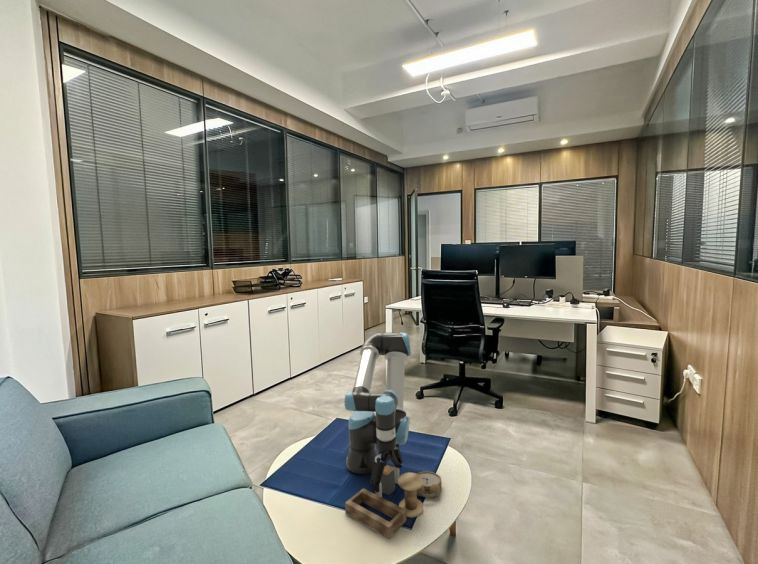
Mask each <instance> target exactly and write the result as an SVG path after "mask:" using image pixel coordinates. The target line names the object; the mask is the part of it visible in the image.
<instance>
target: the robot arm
mask: <svg viewBox="0 0 758 564" xmlns="http://www.w3.org/2000/svg"><path fill="white" fill-rule="evenodd" d="M359 351H360V352H359V355H360V358H359V359H360V361H359V364H358V367H357V371H356V375H355V379H354V383H353V388H352V391H349V392H346V394H345V395H344V396H345V397H344V407H345V410H347V411H350V412H354V413H352V414H351V415H350V416H349V418H348V426H347V427H348V439H349V441H348V443H349V449H348V451H347V452H348V453H347V457H346V459H345V462H346V463H345V464H346V469H347V470H348V471H350V473H351V472H352V473H354V474H357V475H365V474H369V473H371V475H370V480H369V481H370V482H369V483H370V484H372V485H374V487H373V488H374V492H375V493H374V494H376V495H378V496H380V497H382V498H383V492H382V483H381V478H382V474H383V471H384V467H386V466H387V465H388V462H389V461H391V463H392V464H393V466H392V467H393V470H394V474H395V484H397V485H399V484H398V478H399V476H400V475H401V474H400V473H401V472H400V471H401V470H400V469H402V467H403V465H402V464H404V460H403V457H402V453H401V450H400V446H402V445H405V444H406V443H407V442H408V441H407V440H408V437H409V430H410V417H409V416H407V411H406V410H404V395H405V394H404V392H405V365H406V364H405V363H406V361H407V362H408V360H409V357H410V356H411V355H412V352H411V343H410V336H409V333H407V332H401V331H399V332H377V333H374V334H372V335H370V336H369V337H368V338H367V339H366V340H364V342H363V344H362V346H361V348H360V350H359ZM380 356H384V359H385V360H386V361H387V363H386V365H387V366H386V380H385V390H384V391H383V392H371V387H372V382H373V377H374V373H375V369H376V368H375V367H376V362H377V360H378V359H379V357H380Z"/></svg>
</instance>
